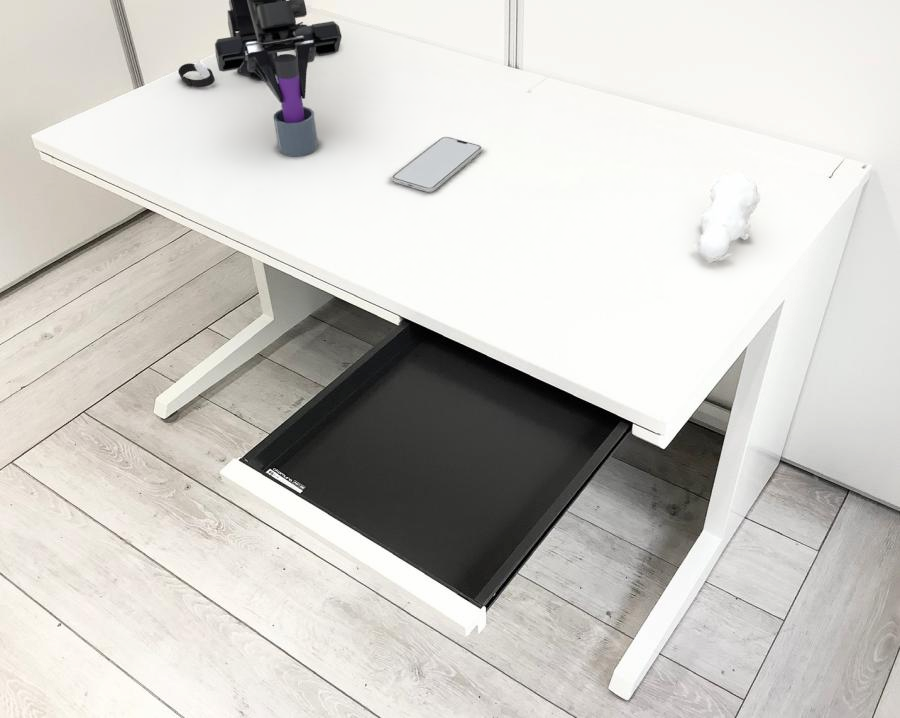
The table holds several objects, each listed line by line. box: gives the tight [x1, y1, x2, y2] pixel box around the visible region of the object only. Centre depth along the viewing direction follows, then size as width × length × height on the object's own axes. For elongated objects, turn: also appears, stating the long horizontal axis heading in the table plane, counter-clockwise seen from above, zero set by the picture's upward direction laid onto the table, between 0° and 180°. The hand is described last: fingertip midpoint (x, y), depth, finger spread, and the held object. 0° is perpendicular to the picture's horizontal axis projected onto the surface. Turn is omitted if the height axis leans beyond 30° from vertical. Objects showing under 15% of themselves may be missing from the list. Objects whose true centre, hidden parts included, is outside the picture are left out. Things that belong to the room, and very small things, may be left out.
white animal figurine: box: [693, 172, 761, 264], centre depth 115 cm, size 6×8×12 cm
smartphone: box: [391, 136, 482, 193], centre depth 135 cm, size 7×1×15 cm
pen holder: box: [273, 106, 319, 158], centre depth 140 cm, size 6×6×6 cm
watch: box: [177, 60, 216, 88], centre depth 160 cm, size 8×5×4 cm, turn 54°
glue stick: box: [274, 53, 305, 123], centre depth 136 cm, size 3×3×12 cm
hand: (292, 99), depth 135 cm, fingers closed on glue stick, 3 cm apart
